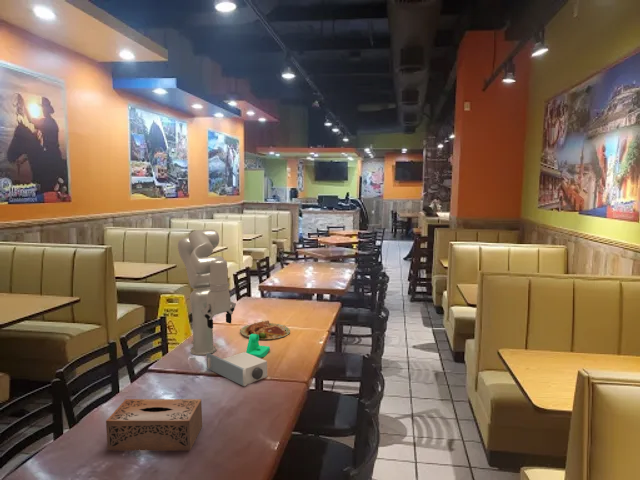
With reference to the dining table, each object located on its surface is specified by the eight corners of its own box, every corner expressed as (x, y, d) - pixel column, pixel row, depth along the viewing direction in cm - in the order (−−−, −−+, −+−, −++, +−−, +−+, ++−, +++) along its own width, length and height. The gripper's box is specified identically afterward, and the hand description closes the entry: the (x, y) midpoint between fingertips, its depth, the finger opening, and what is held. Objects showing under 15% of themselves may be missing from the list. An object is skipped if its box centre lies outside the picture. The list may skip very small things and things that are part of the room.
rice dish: (299, 332, 260) (299, 323, 260) (269, 344, 237) (269, 334, 237) (261, 324, 275) (261, 316, 275) (229, 335, 252) (229, 325, 251)
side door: (204, 368, 204) (204, 353, 203) (208, 367, 206) (208, 352, 205) (242, 387, 185) (242, 370, 184) (246, 385, 187) (246, 369, 186)
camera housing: (222, 374, 199) (222, 359, 198) (244, 366, 207) (244, 351, 207) (247, 386, 187) (247, 370, 186) (269, 377, 195) (269, 362, 195)
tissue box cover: (107, 451, 141) (105, 420, 140) (127, 426, 156) (125, 399, 155) (190, 451, 141) (189, 420, 140) (202, 426, 156) (201, 399, 155)
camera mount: (260, 360, 216) (260, 339, 214) (245, 358, 218) (245, 337, 217) (270, 351, 227) (270, 331, 226) (256, 350, 229) (256, 330, 228)
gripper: (229, 283, 208) (230, 319, 210) (196, 289, 195) (198, 327, 197) (240, 285, 203) (240, 322, 205) (206, 292, 190) (207, 331, 192)
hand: (219, 325), depth 201 cm, fingers open, 9 cm apart
